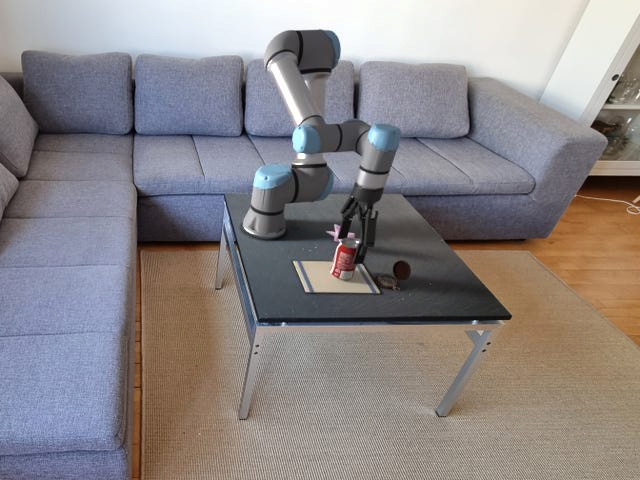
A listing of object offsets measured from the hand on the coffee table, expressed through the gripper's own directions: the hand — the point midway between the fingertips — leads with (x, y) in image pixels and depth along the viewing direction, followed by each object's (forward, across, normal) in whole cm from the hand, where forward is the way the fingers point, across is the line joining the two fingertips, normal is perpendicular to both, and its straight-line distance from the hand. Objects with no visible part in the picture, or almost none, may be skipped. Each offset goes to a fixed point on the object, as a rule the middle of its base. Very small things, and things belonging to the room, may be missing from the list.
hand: (349, 250), depth 132 cm
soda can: (+10, 0, 0) cm, 10 cm away
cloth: (+10, 0, +2) cm, 10 cm away
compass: (+10, -4, -14) cm, 17 cm away
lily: (+10, +15, -5) cm, 19 cm away
